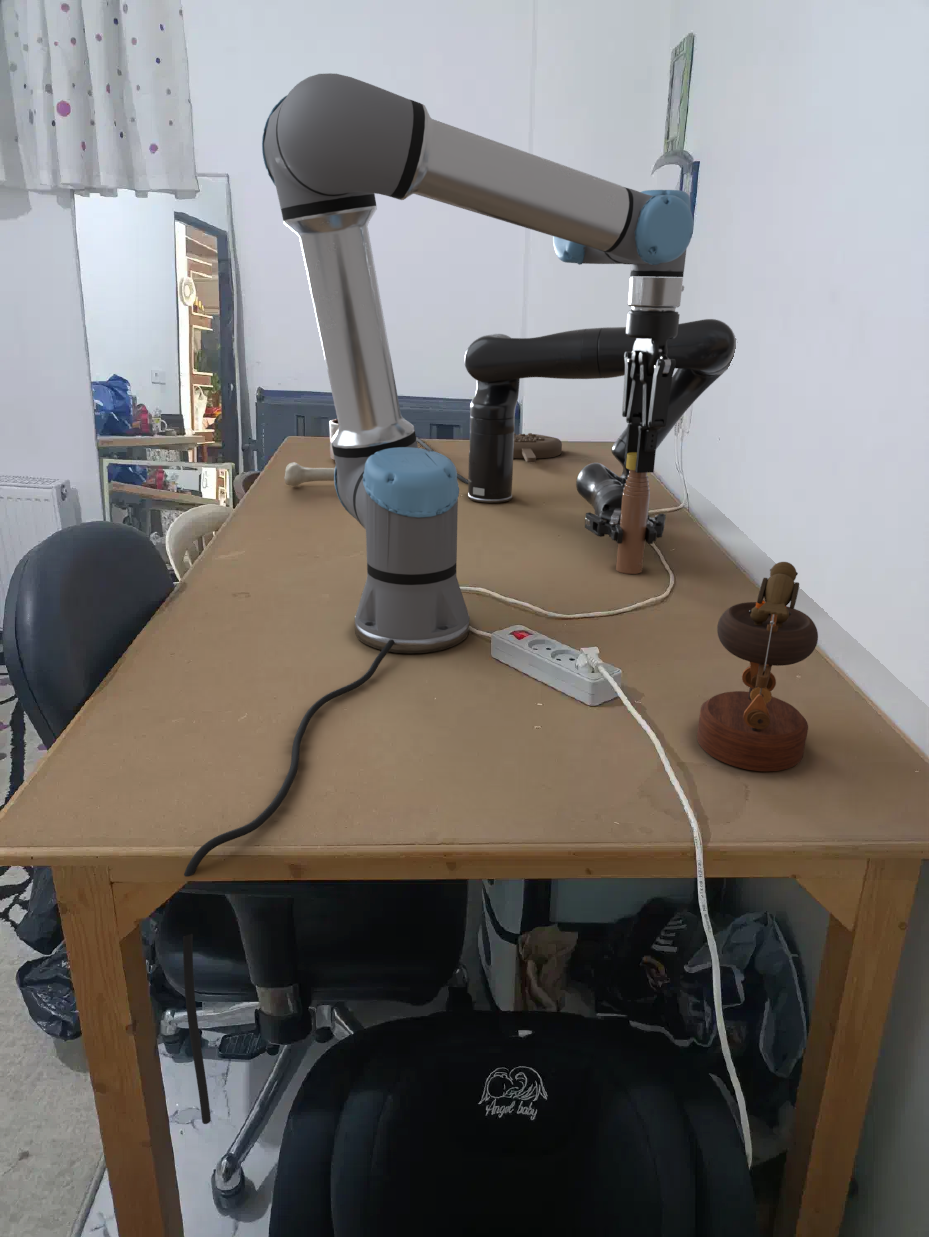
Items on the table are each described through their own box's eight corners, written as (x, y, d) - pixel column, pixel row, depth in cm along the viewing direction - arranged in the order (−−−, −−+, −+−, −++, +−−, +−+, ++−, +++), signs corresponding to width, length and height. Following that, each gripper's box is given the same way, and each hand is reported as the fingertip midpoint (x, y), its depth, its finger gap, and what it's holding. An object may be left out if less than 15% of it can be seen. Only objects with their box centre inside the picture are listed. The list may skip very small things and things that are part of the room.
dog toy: (375, 480, 193) (375, 458, 191) (377, 486, 187) (376, 464, 186) (285, 482, 190) (284, 460, 188) (284, 489, 184) (283, 466, 182)
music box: (826, 784, 80) (847, 586, 73) (707, 784, 81) (715, 589, 74) (787, 708, 94) (802, 535, 87) (686, 708, 95) (692, 539, 88)
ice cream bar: (489, 468, 207) (489, 450, 206) (481, 446, 233) (482, 430, 232) (574, 468, 208) (575, 451, 207) (557, 446, 234) (558, 431, 233)
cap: (645, 465, 134) (646, 451, 133) (655, 470, 130) (656, 456, 130) (622, 465, 133) (623, 452, 132) (631, 471, 130) (632, 457, 129)
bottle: (613, 572, 137) (623, 459, 130) (618, 564, 141) (628, 454, 134) (639, 575, 136) (651, 462, 129) (644, 567, 139) (655, 456, 132)
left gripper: (704, 312, 116) (684, 480, 125) (653, 307, 131) (639, 457, 140) (653, 311, 115) (637, 482, 123) (608, 306, 130) (596, 458, 139)
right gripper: (578, 488, 147) (592, 514, 132) (659, 489, 148) (683, 515, 132) (575, 529, 150) (589, 559, 134) (655, 530, 150) (678, 561, 135)
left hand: (638, 468), depth 132 cm, fingers closed on cap, 4 cm apart
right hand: (635, 537), depth 133 cm, fingers closed on bottle, 4 cm apart
